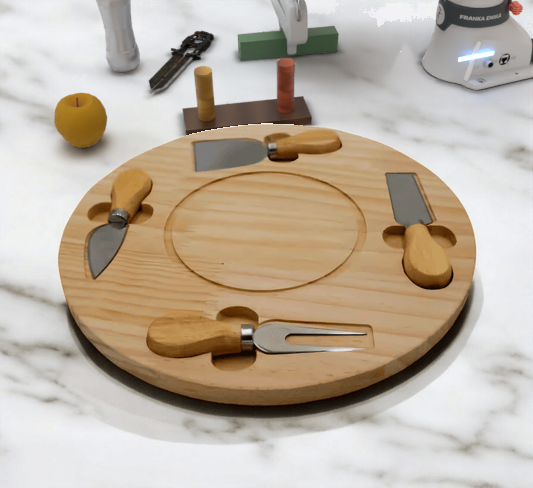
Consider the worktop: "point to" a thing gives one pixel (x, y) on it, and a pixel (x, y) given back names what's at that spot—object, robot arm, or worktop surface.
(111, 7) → the plastic bottle
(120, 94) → the worktop surface
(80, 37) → the worktop surface
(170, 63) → the knife
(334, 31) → the bar
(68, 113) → the apple
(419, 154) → the worktop surface
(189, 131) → the rods
